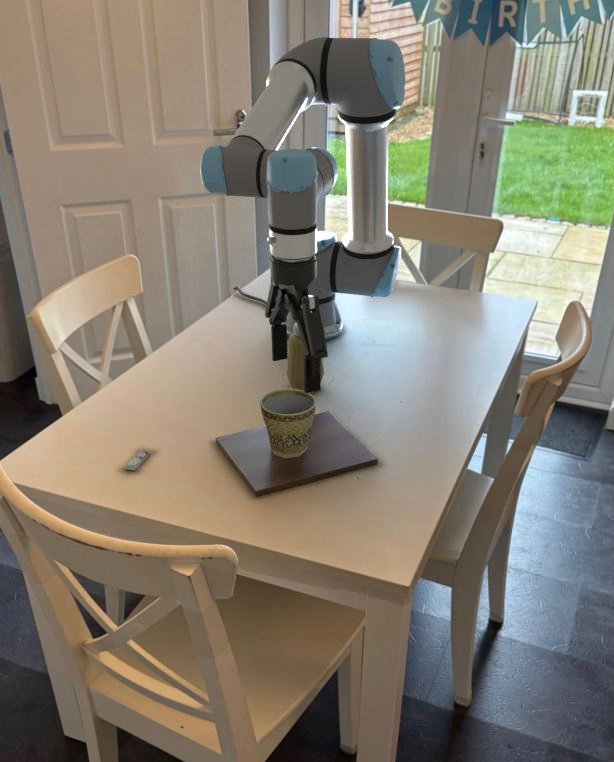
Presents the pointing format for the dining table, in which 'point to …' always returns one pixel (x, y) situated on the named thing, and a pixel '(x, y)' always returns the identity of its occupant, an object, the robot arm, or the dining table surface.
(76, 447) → the dining table surface
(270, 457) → the serving board
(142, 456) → the granola bar
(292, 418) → the ceramic cup
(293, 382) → the squeeze bottle
